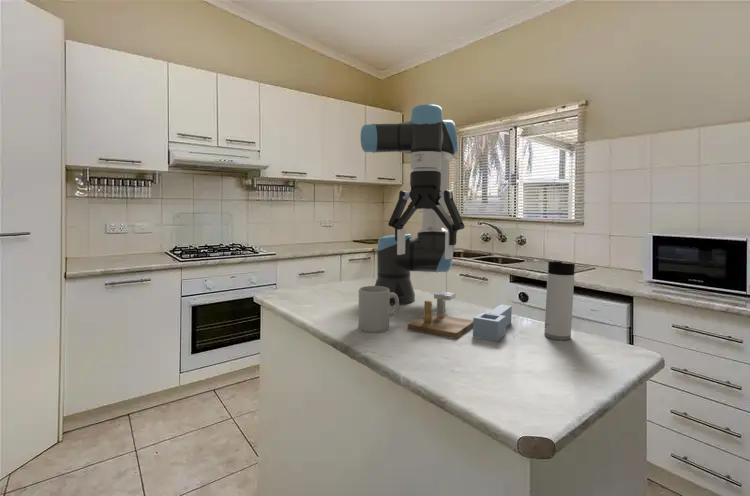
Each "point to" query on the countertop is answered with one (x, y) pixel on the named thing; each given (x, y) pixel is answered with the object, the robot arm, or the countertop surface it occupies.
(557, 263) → the travel mug
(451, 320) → the board
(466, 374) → the countertop surface
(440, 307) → the block
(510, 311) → the link
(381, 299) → the mug
